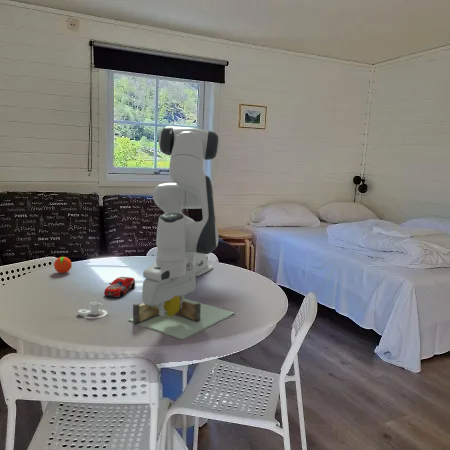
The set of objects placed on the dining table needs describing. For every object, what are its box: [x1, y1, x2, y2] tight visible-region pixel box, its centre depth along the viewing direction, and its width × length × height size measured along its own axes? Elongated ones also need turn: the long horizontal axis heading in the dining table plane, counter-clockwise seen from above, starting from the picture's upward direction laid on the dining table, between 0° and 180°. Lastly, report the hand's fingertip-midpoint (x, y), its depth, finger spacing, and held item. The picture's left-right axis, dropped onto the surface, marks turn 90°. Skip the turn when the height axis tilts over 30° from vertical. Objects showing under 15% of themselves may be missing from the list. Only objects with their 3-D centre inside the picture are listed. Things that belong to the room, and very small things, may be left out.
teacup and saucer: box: [77, 300, 108, 320], centre depth 139 cm, size 9×8×4 cm
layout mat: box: [127, 298, 235, 341], centre depth 138 cm, size 26×22×1 cm
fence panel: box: [176, 300, 201, 321], centre depth 137 cm, size 13×2×5 cm, turn 52°
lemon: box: [163, 296, 180, 317], centre depth 131 cm, size 6×6×8 cm
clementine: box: [53, 256, 73, 274], centre depth 182 cm, size 8×7×7 cm
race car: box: [104, 276, 136, 298], centre depth 161 cm, size 16×7×5 cm, turn 166°
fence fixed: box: [132, 302, 159, 325], centre depth 136 cm, size 15×2×6 cm, turn 145°
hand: (170, 312), depth 132 cm, fingers closed on lemon, 5 cm apart
